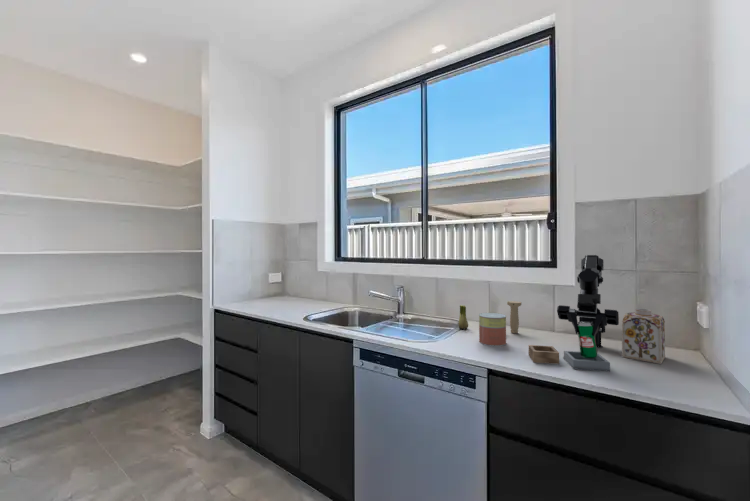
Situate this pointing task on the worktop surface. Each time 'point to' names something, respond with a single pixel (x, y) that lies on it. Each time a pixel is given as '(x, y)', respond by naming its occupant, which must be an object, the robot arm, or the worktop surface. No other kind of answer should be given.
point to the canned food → (492, 329)
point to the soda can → (587, 339)
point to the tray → (586, 361)
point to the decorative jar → (643, 336)
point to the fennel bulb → (463, 318)
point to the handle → (514, 316)
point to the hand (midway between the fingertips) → (585, 334)
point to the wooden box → (543, 354)
